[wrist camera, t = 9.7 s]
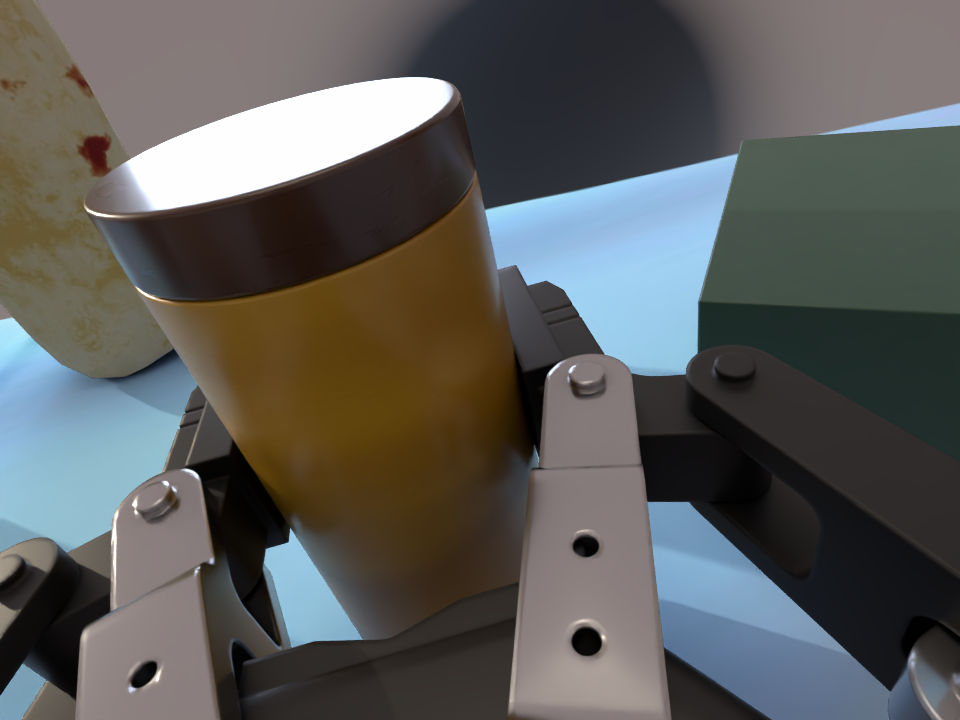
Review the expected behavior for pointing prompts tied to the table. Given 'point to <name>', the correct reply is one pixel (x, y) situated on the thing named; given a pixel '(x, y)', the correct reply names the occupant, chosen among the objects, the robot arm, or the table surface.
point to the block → (848, 269)
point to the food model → (61, 208)
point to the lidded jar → (345, 331)
